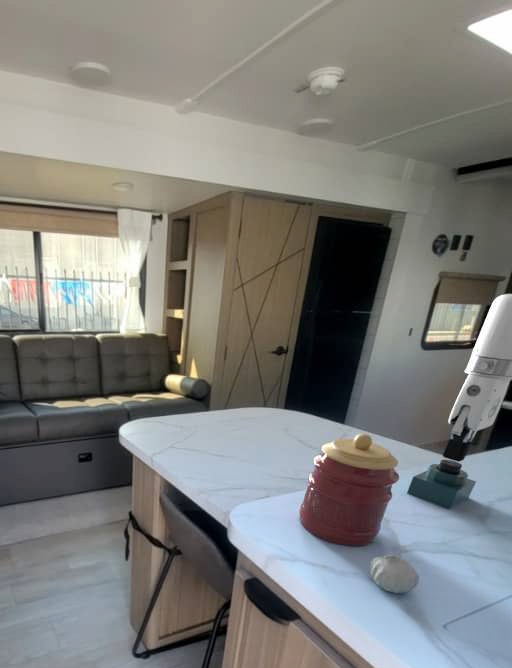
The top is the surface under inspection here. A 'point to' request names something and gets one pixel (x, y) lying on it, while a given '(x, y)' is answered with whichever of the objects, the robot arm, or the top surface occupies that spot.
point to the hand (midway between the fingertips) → (452, 458)
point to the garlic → (393, 574)
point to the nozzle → (450, 467)
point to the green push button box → (441, 487)
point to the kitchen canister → (349, 491)
